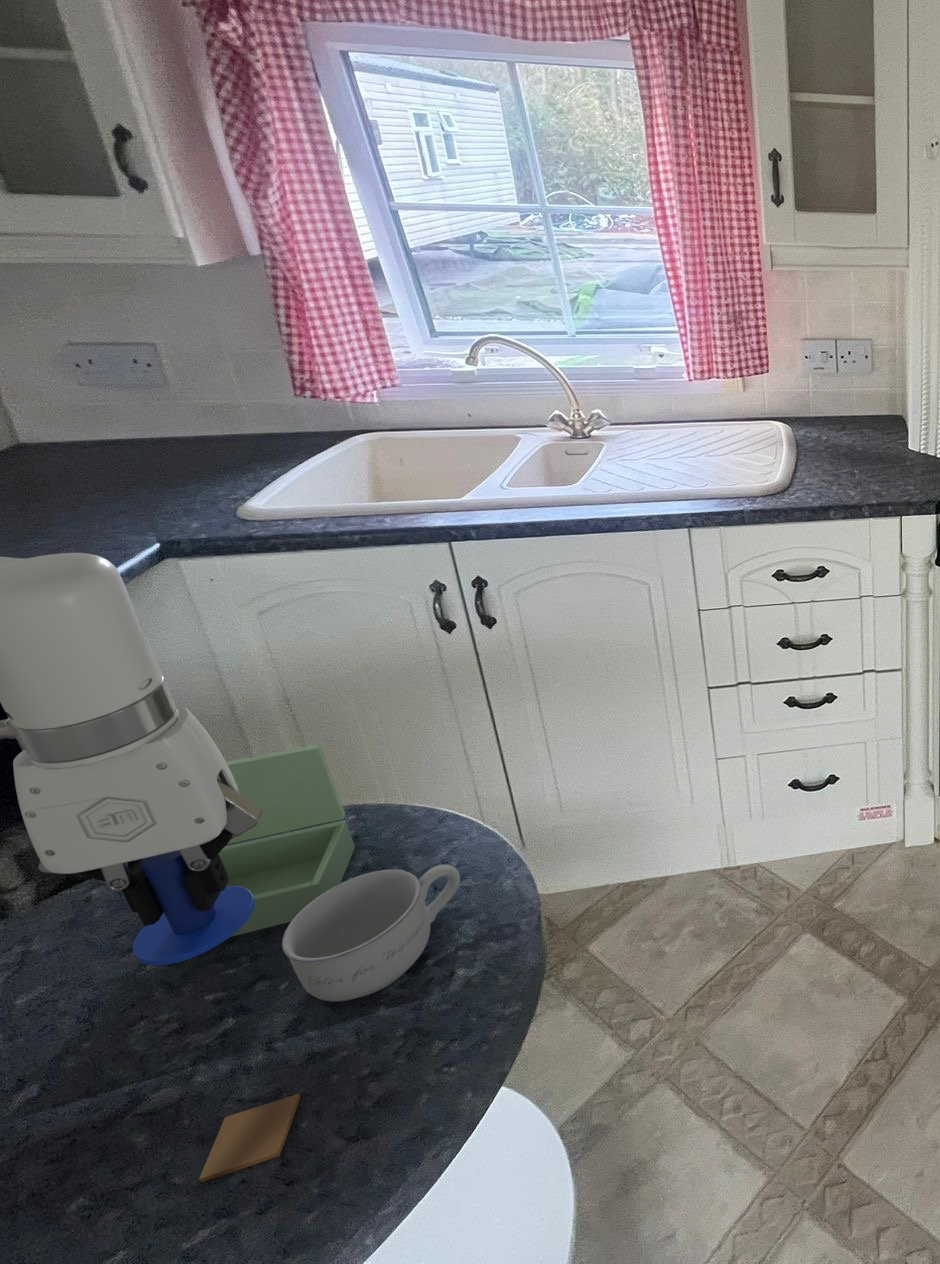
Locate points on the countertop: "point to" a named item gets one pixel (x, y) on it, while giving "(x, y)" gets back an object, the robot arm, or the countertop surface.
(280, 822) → the hatch
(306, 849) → the green wooden box
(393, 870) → the teacup
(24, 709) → the robot arm
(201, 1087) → the countertop surface
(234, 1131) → the trivet
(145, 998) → the countertop surface
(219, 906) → the blue cylinder on disc
